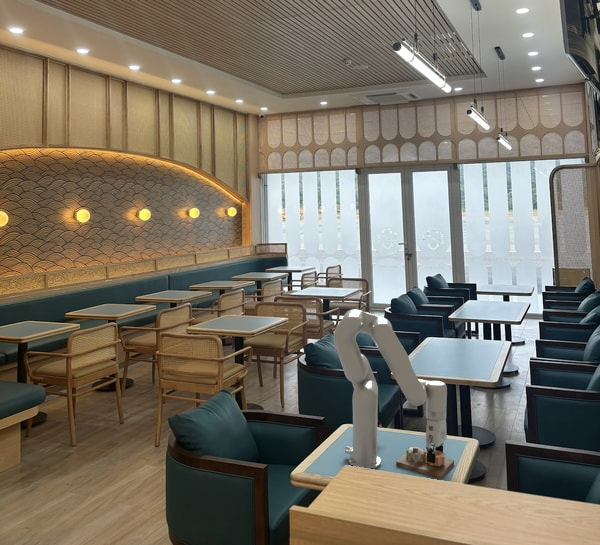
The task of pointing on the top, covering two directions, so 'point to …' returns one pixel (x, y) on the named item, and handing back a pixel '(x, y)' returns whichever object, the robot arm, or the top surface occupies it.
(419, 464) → the gear board
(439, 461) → the terracotta gear
